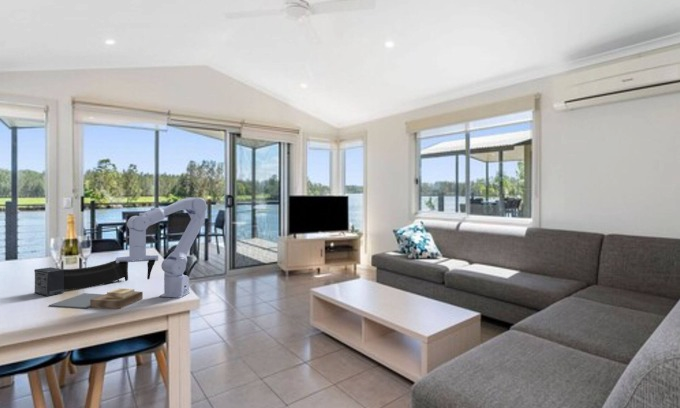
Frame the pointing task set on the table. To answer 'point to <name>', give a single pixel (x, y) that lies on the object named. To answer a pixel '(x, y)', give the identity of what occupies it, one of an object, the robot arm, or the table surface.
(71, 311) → the table surface
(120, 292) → the birch tile
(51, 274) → the small box
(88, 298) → the charcoal mat
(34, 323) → the table surface
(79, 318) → the table surface
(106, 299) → the block
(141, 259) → the robot arm
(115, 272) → the magazine
